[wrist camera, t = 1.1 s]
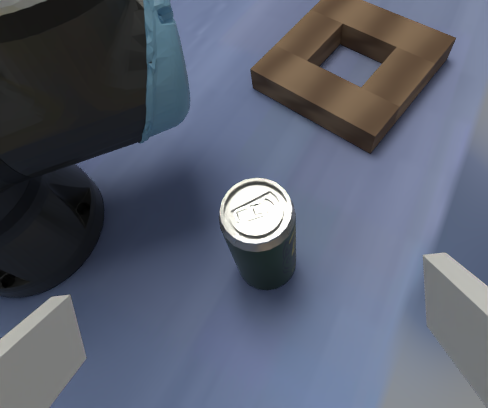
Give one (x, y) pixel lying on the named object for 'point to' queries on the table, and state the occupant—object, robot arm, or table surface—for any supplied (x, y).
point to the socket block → (340, 90)
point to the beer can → (260, 232)
